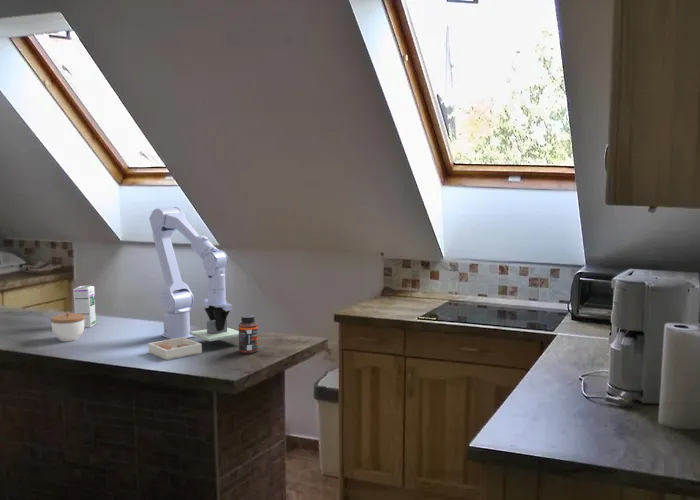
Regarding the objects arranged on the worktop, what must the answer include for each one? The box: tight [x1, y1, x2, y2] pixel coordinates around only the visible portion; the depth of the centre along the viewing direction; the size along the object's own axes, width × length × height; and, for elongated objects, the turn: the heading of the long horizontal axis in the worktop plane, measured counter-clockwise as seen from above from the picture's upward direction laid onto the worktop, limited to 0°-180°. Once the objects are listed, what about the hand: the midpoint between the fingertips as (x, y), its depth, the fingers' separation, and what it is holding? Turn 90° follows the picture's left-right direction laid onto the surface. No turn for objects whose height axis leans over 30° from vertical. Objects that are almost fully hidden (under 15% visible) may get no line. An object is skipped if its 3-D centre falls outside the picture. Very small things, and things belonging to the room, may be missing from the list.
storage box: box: [147, 337, 203, 361], centre depth 224 cm, size 12×12×3 cm
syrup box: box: [72, 285, 98, 329], centre depth 262 cm, size 6×6×14 cm
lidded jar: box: [50, 311, 85, 342], centre depth 243 cm, size 11×11×9 cm
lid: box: [189, 319, 239, 342], centre depth 235 cm, size 13×13×5 cm
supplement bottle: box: [238, 314, 259, 354], centre depth 225 cm, size 6×6×11 cm
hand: (217, 329), depth 235 cm, fingers closed on lid, 2 cm apart
